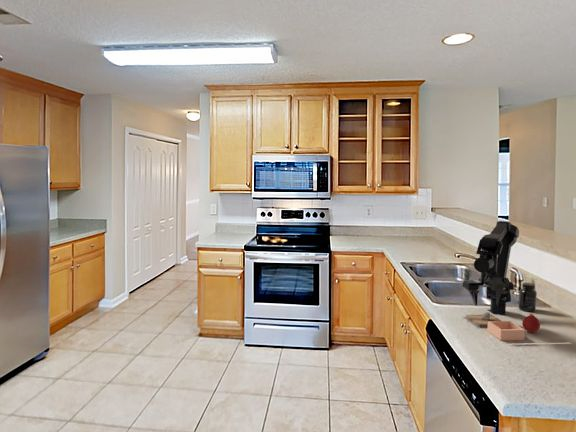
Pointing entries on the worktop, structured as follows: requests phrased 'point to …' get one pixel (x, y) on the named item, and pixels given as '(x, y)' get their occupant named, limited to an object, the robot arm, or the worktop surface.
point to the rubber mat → (473, 323)
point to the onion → (531, 323)
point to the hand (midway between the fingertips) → (486, 305)
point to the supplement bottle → (527, 297)
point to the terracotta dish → (505, 330)
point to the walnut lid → (482, 319)
